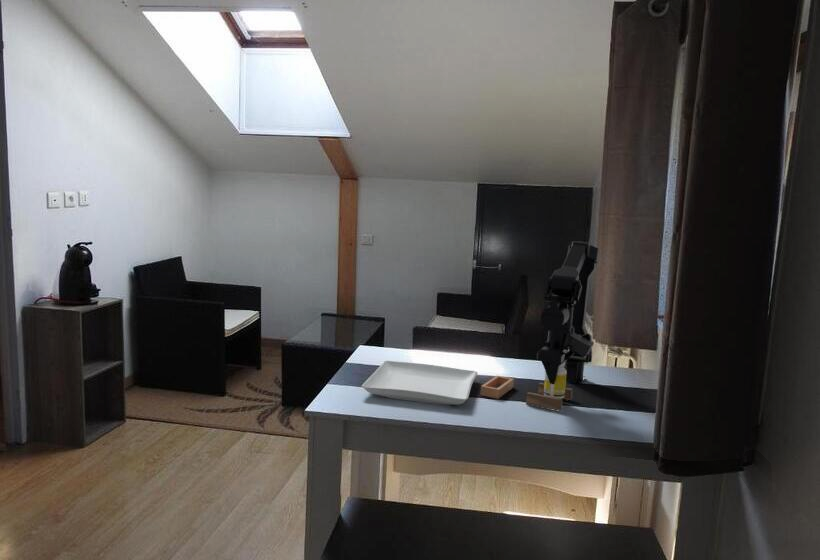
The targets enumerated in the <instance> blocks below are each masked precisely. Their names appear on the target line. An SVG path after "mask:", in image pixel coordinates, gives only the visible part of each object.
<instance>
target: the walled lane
mask: <svg viewBox="0 0 820 560" xmlns="http://www.w3.org/2000/svg"><path fill="white" fill-rule="evenodd" d="M544 384H545V382H539V383H538V386H537V393H533V392H530V391H527V393H526V398H525V399H526V400H525V405H526V404H528V405H527V406H531V405H533V406H532V407H536V406H538V407H537V408H540V407H543V408H542V409H545V408H549V409H548V410H550V409H554V410H559V411H561V410H562V409H563V401H564V400H563V399H567V400H566V401H568V400H571V399H572V400H573V392H574V391H573V390H574V389H573V388H570V387H565V396H564V398H563V399H560V398H555V397H550V396H545V395H544ZM540 394H541V395H540ZM572 400H571V401H572ZM554 410H553V411H554ZM559 411H558V412H559ZM562 411H563V410H562ZM562 411H561V412H562Z"/></svg>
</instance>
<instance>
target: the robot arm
mask: <svg viewBox="0 0 820 560" xmlns="http://www.w3.org/2000/svg"><path fill="white" fill-rule="evenodd" d="M600 260H601V251H600V249H599V248H598V247H597V246H593V245H592V244H591V243H589V242H588V241H586V242H585V241H579V240H578V241H577V240H574V241H571V242H570V244H569V245H568V248H567V254H566V258H565V259H564V262H563V264H562V266H561V267H560V268H558V269H555V270H554V272H553V273H552V275H551V276H550V277H549V278H548V281H547V284H546V289H545V292H544V297H543V301H544V302H549V305H548V307H546V308H544V310H542V312H541V315H540V321H541V324H542V325H543V326H544V327H545V328H546V331H548V333H547V340H546V341H545V343H544V345H545V346H543V347H542V348H540V349H539V350H537V352H536V360H537V361H541V363H542V366H543V368H544V371H545V372H546V374H547V376H548V379H549V382H550V384H555V381H556V377H557V373H558V369H559V366H560V365H561V364H562V363H564V362H565V365H564V368H565V369H566V371H567V375H566V380H569V381H568V382H570V381H575V382H582V381H583V377H585V376H584V372H585V371H584V370H585V363H586V364H588V363H592V361H593V346H594V341H593V339H592V334H589V333H588V330H587V329H586V328H587V327H585V326H586V325H585V324H586V318H587V310H588V309H587V307H588V300H589V299H588V298H589V289H590V279H591V276H592V275H593V274H594V272H595V271H596V270H597V269H598V264H599V263H600ZM575 382H574V383H575ZM583 382H584V381H583ZM583 382H582V383H583Z"/></svg>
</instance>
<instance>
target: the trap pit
mask: <svg viewBox="0 0 820 560" xmlns="http://www.w3.org/2000/svg"><path fill="white" fill-rule="evenodd" d="M514 382H515V378H512V377H506V376H503V375H502V376H501V375H496V376H494V377H492V378H491V379H489V380H488V381H487V382H485V383H484V384H482V385H480V396H483V397H487V398H492V399H497V400H499V399H500V398H501V397H503V396H504V395H506V394H507V393H508V392H509V391H511V390H512V389H513V388H514Z"/></svg>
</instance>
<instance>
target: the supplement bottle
mask: <svg viewBox="0 0 820 560" xmlns="http://www.w3.org/2000/svg"><path fill="white" fill-rule="evenodd" d="M564 365H565V362H564V363H562V364H561V365H560V366H559V369H558V373H557V377H556V381H555V384H550V382H549V379H548V376H547V374H546V371H545V373H544V374H545V375H544V383H545V384H544V395H545V396H550V397H555V398H560V399H562V398H564V396H565V388H567V387H566V384H567V381H566V375H567V371H566V369H565V368H564Z"/></svg>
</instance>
